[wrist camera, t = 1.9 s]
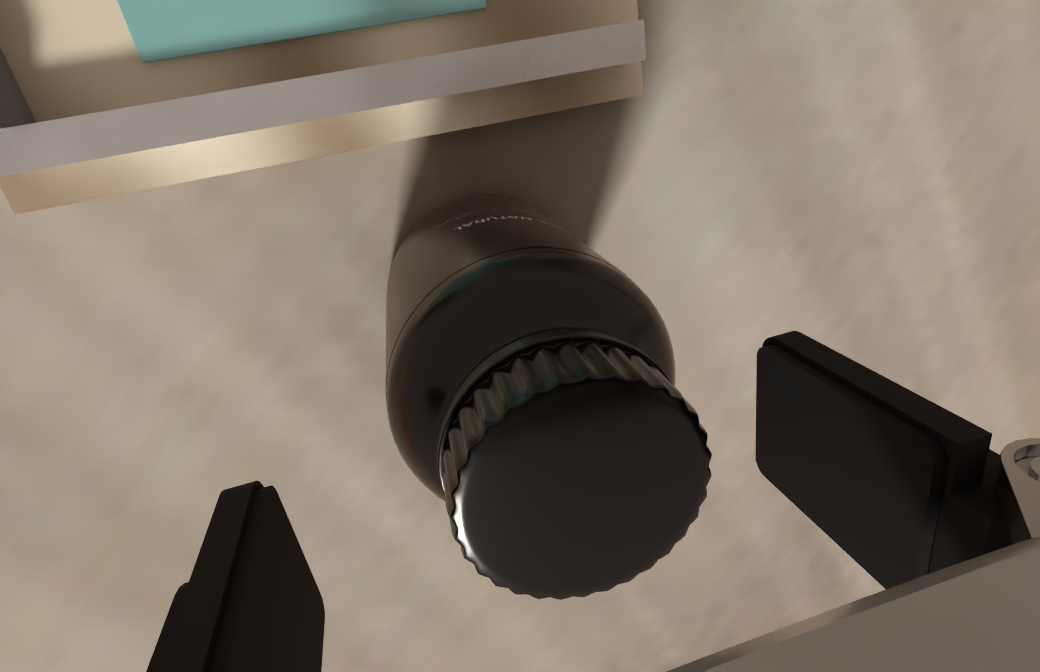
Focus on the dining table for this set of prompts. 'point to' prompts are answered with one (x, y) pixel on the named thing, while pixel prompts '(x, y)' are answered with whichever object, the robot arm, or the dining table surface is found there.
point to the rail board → (280, 81)
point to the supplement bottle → (538, 400)
